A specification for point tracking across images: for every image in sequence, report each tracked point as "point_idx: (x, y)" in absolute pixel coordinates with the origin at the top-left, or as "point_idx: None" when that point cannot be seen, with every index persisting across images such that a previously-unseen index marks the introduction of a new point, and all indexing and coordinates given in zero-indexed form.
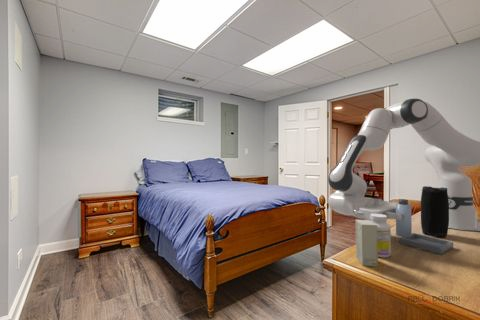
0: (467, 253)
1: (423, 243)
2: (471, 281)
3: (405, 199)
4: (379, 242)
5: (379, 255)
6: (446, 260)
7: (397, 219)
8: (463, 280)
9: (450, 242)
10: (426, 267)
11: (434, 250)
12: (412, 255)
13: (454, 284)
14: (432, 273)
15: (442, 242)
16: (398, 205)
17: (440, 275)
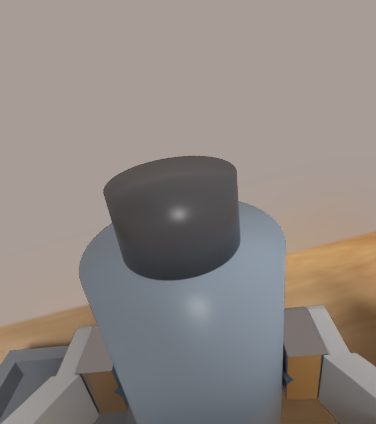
0: (63, 324)
1: (131, 412)
2: (297, 255)
3: (113, 181)
4: None
5: None
6: None
7: (278, 420)
8: (312, 262)
9: (19, 355)
10: (348, 326)
11: None
12: (290, 415)
13: (362, 260)
14: (369, 300)
15: (5, 391)
16: (284, 261)
17: (353, 288)
